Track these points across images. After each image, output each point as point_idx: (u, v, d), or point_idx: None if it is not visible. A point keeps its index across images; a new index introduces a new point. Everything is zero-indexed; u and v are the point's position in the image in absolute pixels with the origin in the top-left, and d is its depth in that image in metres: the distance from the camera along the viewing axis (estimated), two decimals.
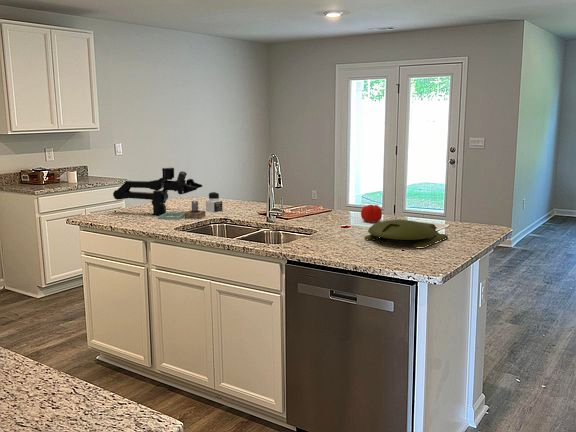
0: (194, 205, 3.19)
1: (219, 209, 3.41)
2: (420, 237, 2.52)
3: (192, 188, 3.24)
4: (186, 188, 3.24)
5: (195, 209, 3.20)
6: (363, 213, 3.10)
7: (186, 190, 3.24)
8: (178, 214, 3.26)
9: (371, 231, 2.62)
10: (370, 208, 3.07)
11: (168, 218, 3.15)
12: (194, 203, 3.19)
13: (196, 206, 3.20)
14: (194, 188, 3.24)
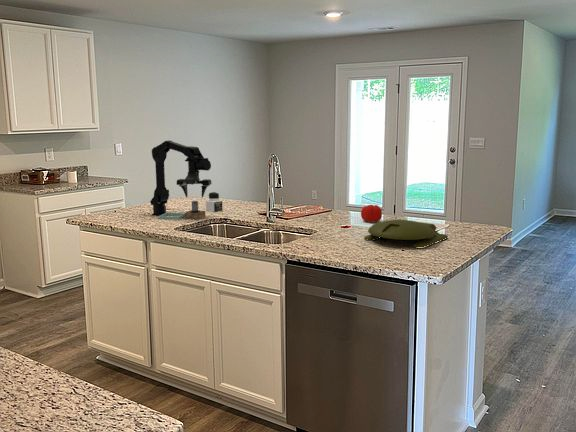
0: (194, 205, 3.19)
1: (219, 209, 3.41)
2: (420, 237, 2.52)
3: None
4: None
5: (195, 209, 3.20)
6: (363, 213, 3.10)
7: None
8: (178, 214, 3.26)
9: (371, 231, 2.62)
10: (370, 208, 3.07)
11: (168, 218, 3.15)
12: (194, 203, 3.19)
13: (196, 206, 3.20)
14: None
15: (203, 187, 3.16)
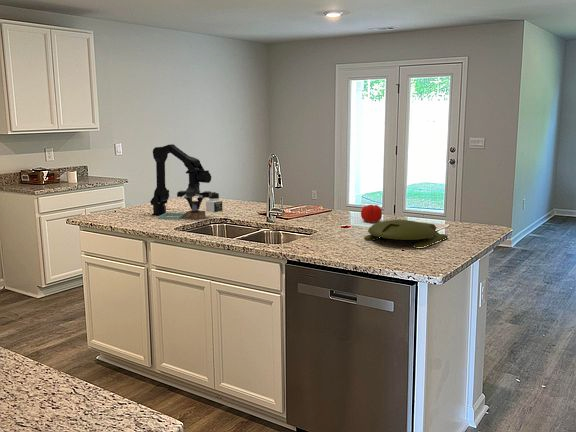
0: (194, 205, 3.19)
1: (219, 209, 3.41)
2: (420, 237, 2.52)
3: None
4: None
5: (195, 209, 3.20)
6: (363, 213, 3.10)
7: None
8: (178, 214, 3.26)
9: (371, 231, 2.62)
10: (370, 208, 3.07)
11: (168, 218, 3.15)
12: (194, 203, 3.19)
13: (196, 206, 3.20)
14: None
15: (199, 199, 3.18)
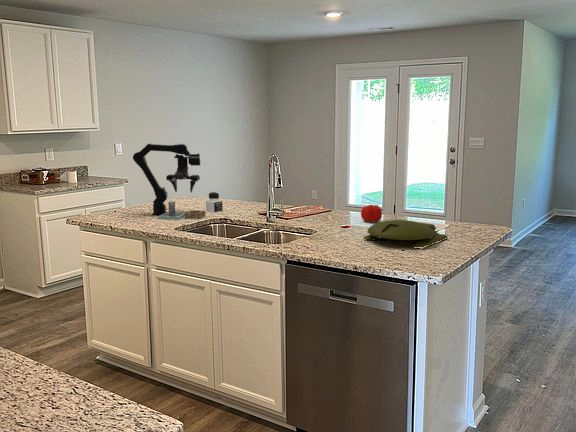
0: (171, 205, 3.18)
1: (219, 209, 3.41)
2: (419, 237, 2.52)
3: None
4: None
5: (172, 210, 3.19)
6: (363, 213, 3.10)
7: None
8: (178, 214, 3.26)
9: (370, 231, 2.62)
10: (370, 208, 3.07)
11: (168, 218, 3.15)
12: (171, 204, 3.18)
13: (173, 207, 3.19)
14: None
15: (192, 182, 3.31)
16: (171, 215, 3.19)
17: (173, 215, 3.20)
